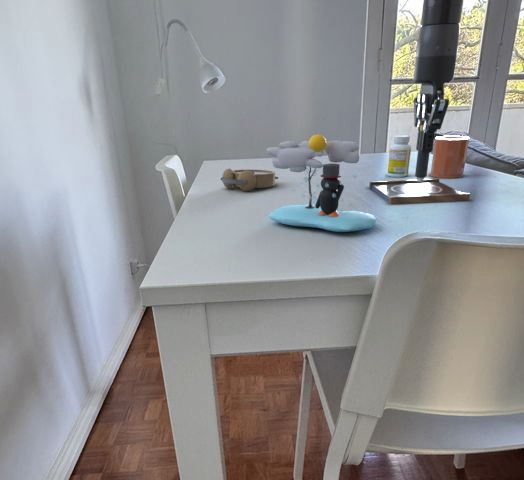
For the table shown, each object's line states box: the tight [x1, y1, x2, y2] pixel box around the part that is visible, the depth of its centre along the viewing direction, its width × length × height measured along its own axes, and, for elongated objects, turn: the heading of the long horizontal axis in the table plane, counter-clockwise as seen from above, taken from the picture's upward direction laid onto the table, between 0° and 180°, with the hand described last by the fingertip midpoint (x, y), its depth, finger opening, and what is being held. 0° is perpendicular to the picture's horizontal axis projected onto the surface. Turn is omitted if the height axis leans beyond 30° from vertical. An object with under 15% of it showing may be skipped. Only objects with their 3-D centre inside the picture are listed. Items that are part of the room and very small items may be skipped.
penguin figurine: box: [266, 133, 377, 233], centre depth 81 cm, size 20×11×15 cm, turn 51°
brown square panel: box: [368, 178, 471, 205], centre depth 105 cm, size 17×17×1 cm
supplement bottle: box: [387, 134, 412, 178], centre depth 123 cm, size 5×5×10 cm
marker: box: [414, 125, 431, 182], centre depth 99 cm, size 2×2×11 cm
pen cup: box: [430, 135, 470, 179], centre depth 120 cm, size 8×8×9 cm
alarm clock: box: [220, 168, 279, 192], centre depth 117 cm, size 11×5×15 cm
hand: (423, 151), depth 99 cm, fingers closed on marker, 2 cm apart
